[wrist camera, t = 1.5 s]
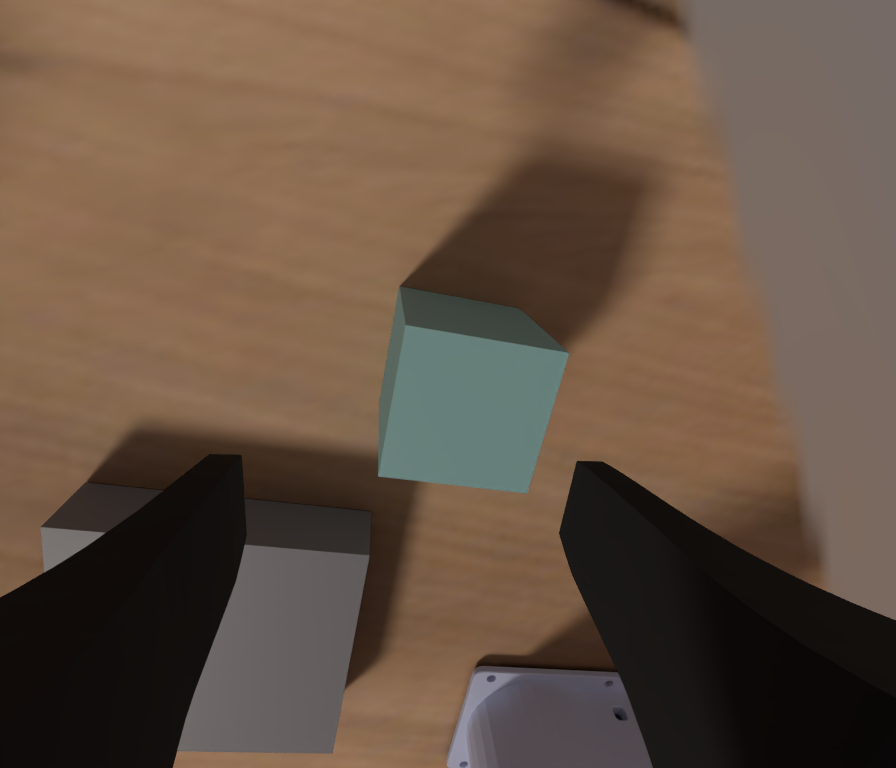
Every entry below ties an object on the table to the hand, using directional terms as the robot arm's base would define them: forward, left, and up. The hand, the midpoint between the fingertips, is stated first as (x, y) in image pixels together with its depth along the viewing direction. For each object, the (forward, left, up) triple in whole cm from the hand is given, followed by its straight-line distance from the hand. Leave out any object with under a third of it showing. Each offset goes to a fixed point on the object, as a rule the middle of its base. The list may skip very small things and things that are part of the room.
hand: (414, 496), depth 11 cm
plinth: (+6, +14, -11) cm, 19 cm away
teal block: (-2, 0, -11) cm, 11 cm away
